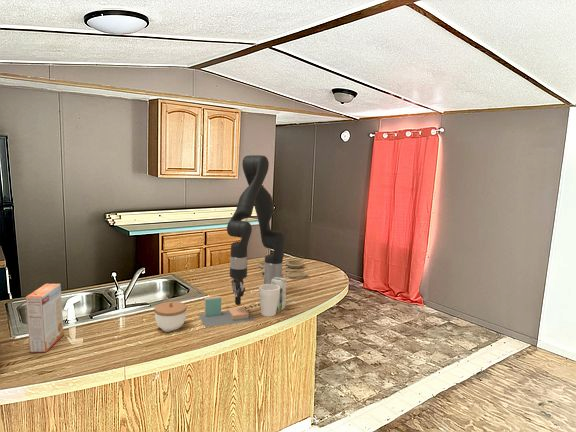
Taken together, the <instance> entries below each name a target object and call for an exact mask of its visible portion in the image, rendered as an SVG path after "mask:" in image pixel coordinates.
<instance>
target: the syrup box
mask: <svg viewBox="0 0 576 432" xmlns="http://www.w3.org/2000/svg"><path fill="white" fill-rule="evenodd" d="M271 284H274V285H278V286H279V287H280V293H279V298H278V304H277V310H278V311H279V312H282V311H283V310H284V309H285V308H286V296H287V295H286V293H287V278H284V277H283V278H278V277H275V278H273V279H272V280H271ZM277 310H276V311H277Z"/></svg>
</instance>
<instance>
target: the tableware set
mask: <svg viewBox="0 0 576 432" xmlns="http://www.w3.org/2000/svg"><path fill="white" fill-rule="evenodd" d="M303 261H304V259H285V260H284V262H285V264H286V265H287V266H288V267H289V269H285V270H284V271H285V276H286V277H288V278H290V279H291V278H293V279H303V278H306V277H309V274H308V273H307V272H305V271H306V270H305V269H304V270H303V269H301V267H302V266H304V264H305V263H304V262H303ZM257 265H258V267H259V268H261V273H262V274H264V268H265V261H258V264H257Z"/></svg>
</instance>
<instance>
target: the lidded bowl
mask: <svg viewBox="0 0 576 432" xmlns="http://www.w3.org/2000/svg"><path fill="white" fill-rule="evenodd" d="M187 308H188V306H187V304H186V303H184V302H181V301H165V302H161V303H158V304H156V306H155V307H154V308H153V309H154V317H155V318H154V319H155V322H156V325H157V327H158V328H160V329H161V331H162V332H165V333H170V332H171V331H177V330H178V329H180V328H182V326H183V325H184V323H185V321H186V317H187Z"/></svg>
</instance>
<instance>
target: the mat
mask: <svg viewBox="0 0 576 432" xmlns="http://www.w3.org/2000/svg"><path fill="white" fill-rule="evenodd" d="M244 309H245V310H246V311H247V312H248V314H249V318H248V319H243V320H236V321H233V320H232V319H231V317H230V316H229V315H228V310H222V311H221V315H216V316H208V317H206V316H205V315H204V313H200V314H199V313H198V314H197V315H198V317H199V319H200V322H202V324H203V327H204V328H212V327H218V326H224V325H231V324H238V323H247V322H253V321H256V319H255V318H254V317H253V315H252V314H251V313H250V312H249V311H248V310H247V308H244Z"/></svg>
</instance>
